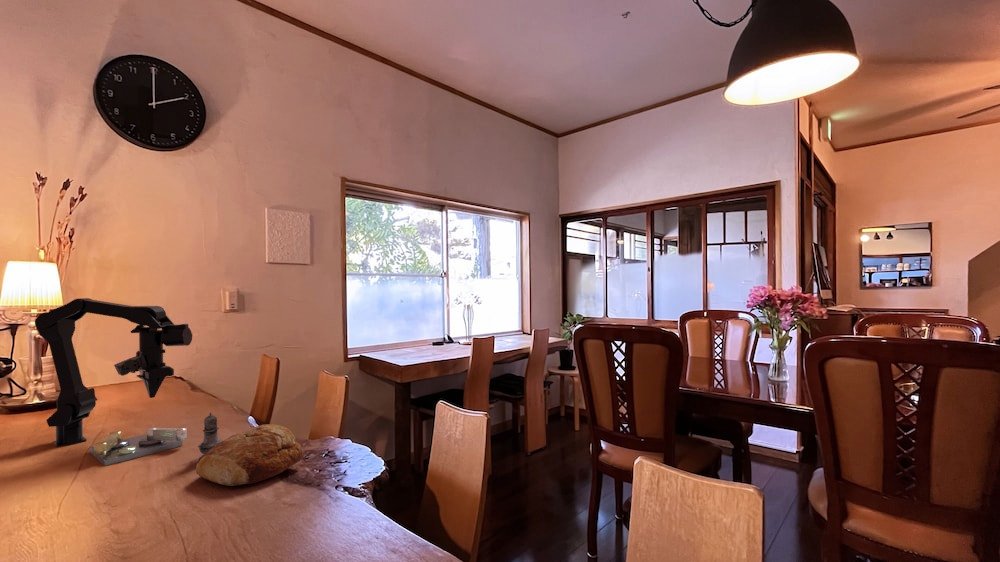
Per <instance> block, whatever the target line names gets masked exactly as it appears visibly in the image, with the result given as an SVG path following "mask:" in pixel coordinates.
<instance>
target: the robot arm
mask: <svg viewBox="0 0 1000 562" xmlns="http://www.w3.org/2000/svg"><path fill="white" fill-rule="evenodd" d="M86 314H93V315H100V316H106V317H112V318H113V317H114V318H120V319H124V320H126V321H129V322H131V323H133V324H136V326H135V328H132V330H130V333H131V334H138V335H139V336H138V338H139V340H138V341H139V342H138V345H139V347H138V349H139V350H136V352H135V356H133V357H129V358H127V359H125V360H123V361H119V362H117V363H115V364H113V366H114V369H115V370H116V371H117V374H118V375H120V376H126V375H128V374H129V373H131V374H135V373H136V372H139V374H138V375H136V378H139V379H140V380H142V381H143V383H144V385H145V388H146V392H147V395H148V397H149V398H150V399H152V398H156V395H157V393H158V392H159V389H160V388H161V385H162V383H163V382H164V380H165V379H166V378H167V377H174V376H175V369H174V368H173V367H172V366H169V365H166V362H164V354H165V353H166V349H164V346H165V347H183V346H185V347H186V346H187V347H188V346H190V345H191V343H192V341H193V333H192V330H191V328H190V327H189V323H181V324H175V323H174V322H173V321H172V319H170V318H169V316H168V315H167V313H166V311H165V309H164V307H162V306H160V305H130V304H129V305H127V304H121V303H115V302H108V301H104V300H97V299H92V298H88V297H84V298H82V297H81V298H74V299H73V300H71V301H69V302H67V303H66V304H64V305H61V306H59V307H56V308H54V309H52V310H50V311H48V312H42V313H40V314H39V315H38V316H37V317H36V318H35V319H34V326H35V328H36V330H37V332H38V334H39V336H40V337H41V338H42V339H44V341H45V342H47V343H48V346H49V350H50V354H51V356H52V362H53V365H54V369H55V373H56V377H57V381H58V385H59V389H60V390H59V393H58V397H57V399H56V411H55V412H53V413H52V414H51V416H49V417H47V419H46V424H47V426H48V427H51V428H52V427H55V440H53V441H52V442H51V443H52V444H53V446H55V447H56V448H60V447H65V446H70V444H71V445H74V444H79V443H83V442H86V441H88V440H87V438H86V437H85V436H83V435H84V433H83V430H84V427H83V425H84V424H83V422H84V421H83V419H86V418H89V416H90V413H91V412H92V411H93V410H94V408H95V407H96V405H97V403H96V402H97V401H99V400H98V398H97V396H96V391H95V388H94V387H91V388H87V387H86V386H85V385H84V383H83V378H82V376H81V372H80V367H79V363H78V359H77V356H76V355H77V354H76V351H75V347H74V343H73V337H74V334H75V331H76V322H77V321H78V320H80V319H83V317H84V316H85V315H86ZM163 345H164V346H163ZM59 446H60V447H59Z"/></svg>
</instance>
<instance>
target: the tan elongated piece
mask: <svg viewBox="0 0 1000 562" xmlns="http://www.w3.org/2000/svg"><path fill="white" fill-rule="evenodd" d="M128 444H129V440H128V439H127V438H124V439H122V431H121V430H115V431H112V432H109V434H108V435H107V436H105V437H104V438H103V439H100V441H98V442H96V443H94V445H93V446H94V452H95V456H101V455H105V454H107V451H109V450H110V449H116V448H120V447H123V446H126V445H128Z"/></svg>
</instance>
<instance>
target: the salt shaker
mask: <svg viewBox="0 0 1000 562" xmlns="http://www.w3.org/2000/svg"><path fill="white" fill-rule="evenodd" d="M203 428H204V429H203V430H202V432H203V441H202V442H200V443H199V444H198V445H197V447H198V448H199V449H198V450H199V451H200V453H201V454H202V455H201V456H200V457H199V458H198V459H199V461H200V460H201V459H202V458H203V457H204V456H205V454H206V453H207V452H208V451H209V450H210V449H212V448H213V447H214V446H216V445H217V444H218V443H220V442H222V441H223V439H220V438H219V437H218V430H219V427H218V418H217V416H216V415H213V413H212V412H209V415H208V416H206V417H205V418H204V427H203Z"/></svg>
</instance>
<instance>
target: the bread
mask: <svg viewBox="0 0 1000 562" xmlns="http://www.w3.org/2000/svg"><path fill="white" fill-rule="evenodd" d="M222 440H223V439H222ZM303 456H304V450H303V447H302V446H301V444H300V443H299V442H298V441H297V437H295V435H294V433H293V432H292V431H291V430H290V428H287V427H286V426H282V425H279V424H272V423H269V424H267V423H266V424H261V425H260V424H259V425H256V426H253V427H252V428H250V429H247V430H246V429H245V430H244V431H241V432H238V433H235V434H232V435H230V436H229V437H227V438H225V439H224V440H223V441H222V442H220V443H218V444H217V445H216V446H214V447H213V448H212V449H210V450H209V451H208V452H207V453H206V454H205V456H204V457H203V458H202V459H201V460H200V459H199V461H198V462H197V463H196V468H195V473H196V475H198V476H199V477H201V478H203V479H204V480H208V481H210V482H212V483H215V484H219V485H223V486H231V487H235V486H241V485H248V484H256V483H258V482H259V483H260V482H262V481H265V480H267V479H270V478H273V477H275V476H277V475H279V474H282V473H283V472H284V471H286V470H288V469H290V468H291V467H292V466H294V465H296V464H298V462H300V461H301V460H302V458H303Z"/></svg>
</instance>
